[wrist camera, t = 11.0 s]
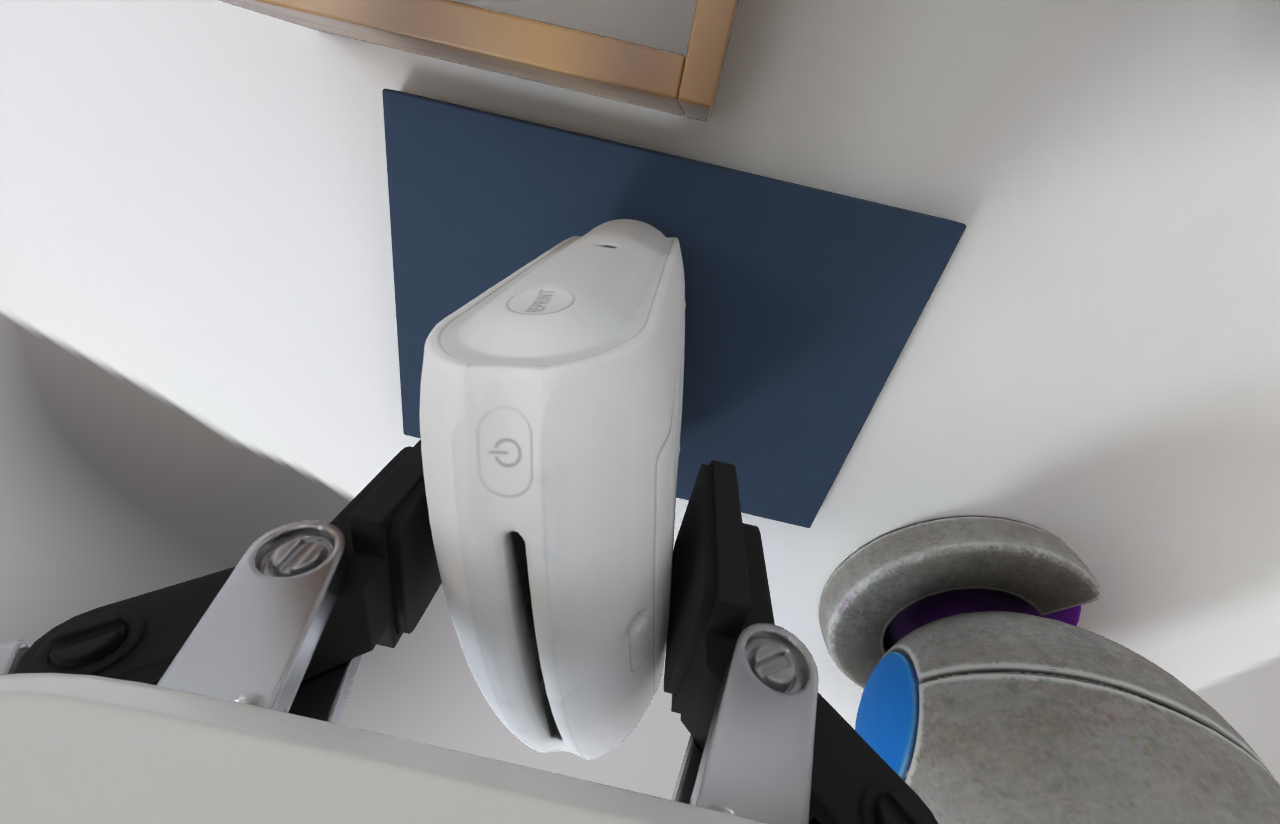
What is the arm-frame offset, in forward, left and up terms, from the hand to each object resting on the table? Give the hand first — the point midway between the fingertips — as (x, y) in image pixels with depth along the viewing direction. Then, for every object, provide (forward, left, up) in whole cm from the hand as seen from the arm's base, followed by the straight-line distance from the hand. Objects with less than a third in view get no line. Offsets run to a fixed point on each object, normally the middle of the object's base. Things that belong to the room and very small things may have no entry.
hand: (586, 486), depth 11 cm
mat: (0, 0, -10) cm, 10 cm away
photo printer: (0, 0, -8) cm, 8 cm away
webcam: (+19, -11, -10) cm, 24 cm away
